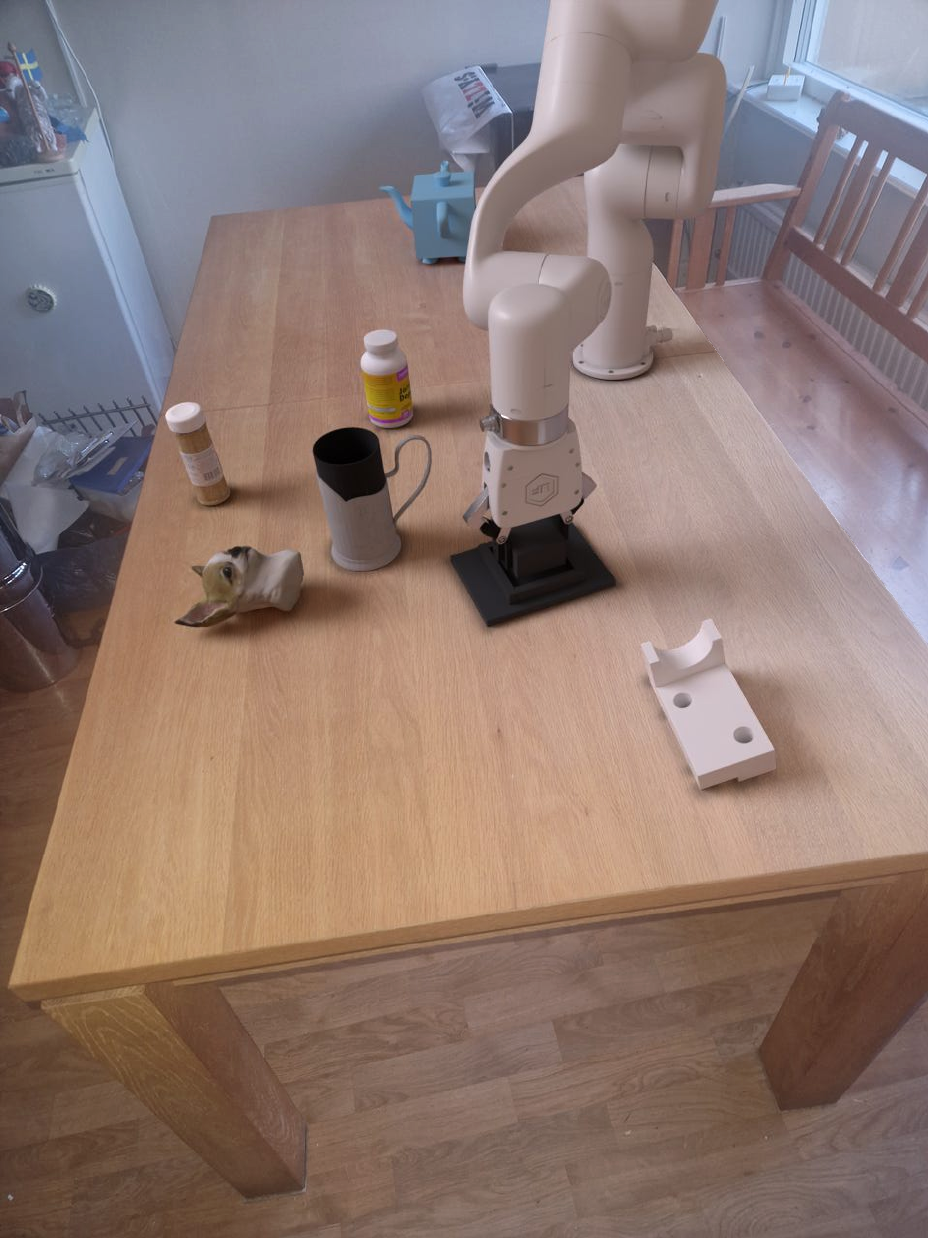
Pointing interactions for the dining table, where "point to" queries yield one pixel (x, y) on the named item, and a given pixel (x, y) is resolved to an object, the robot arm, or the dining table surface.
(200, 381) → the dining table surface
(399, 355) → the supplement bottle
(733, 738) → the bracket
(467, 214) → the teakettle
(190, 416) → the sprinkles bottle
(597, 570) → the base pad
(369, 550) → the glass holder
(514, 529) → the black pad
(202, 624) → the ceramic sculpture
